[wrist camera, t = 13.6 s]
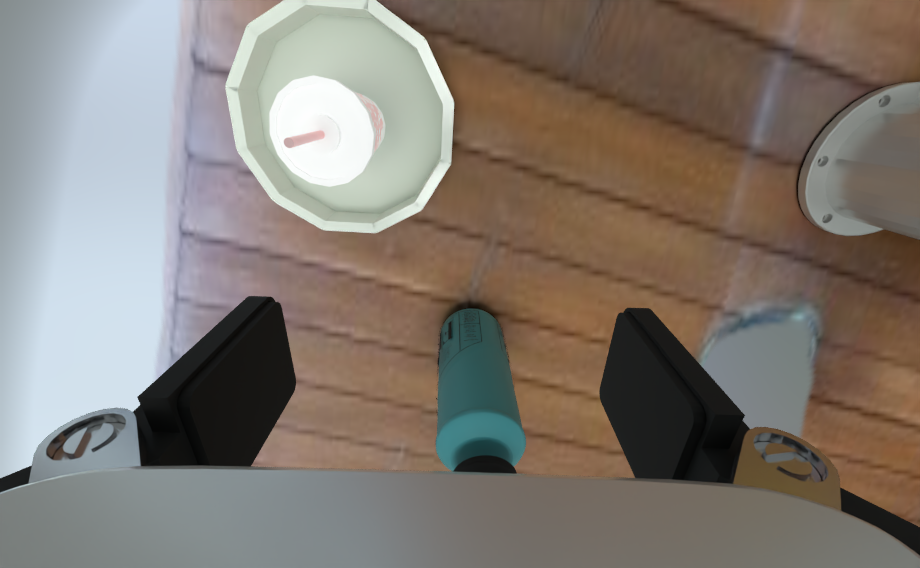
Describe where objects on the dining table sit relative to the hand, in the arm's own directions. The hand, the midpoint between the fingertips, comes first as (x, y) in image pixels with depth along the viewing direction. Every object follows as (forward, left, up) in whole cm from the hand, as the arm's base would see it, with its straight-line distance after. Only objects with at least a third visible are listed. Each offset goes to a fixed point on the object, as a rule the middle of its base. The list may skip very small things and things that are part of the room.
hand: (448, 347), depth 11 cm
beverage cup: (+1, -9, -25) cm, 26 cm away
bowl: (+1, -9, -25) cm, 27 cm away
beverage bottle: (+12, +10, -26) cm, 30 cm away
